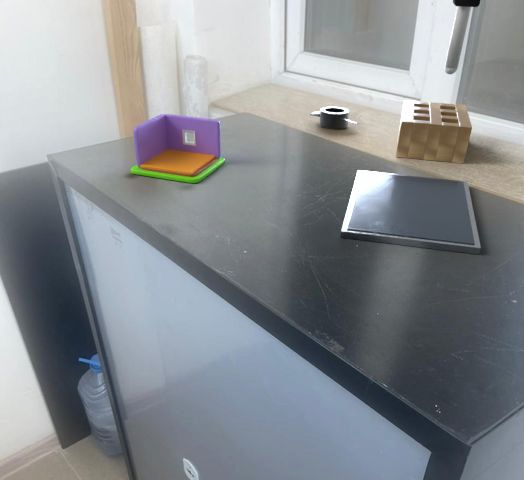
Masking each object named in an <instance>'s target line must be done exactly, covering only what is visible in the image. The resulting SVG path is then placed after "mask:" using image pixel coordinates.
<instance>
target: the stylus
mask: <svg viewBox="0 0 524 480" xmlns="http://www.w3.org/2000/svg"><path fill="white" fill-rule="evenodd" d="M471 10H472V7H462V6H456V10H455V15H454V20H453V24H452V29H451V35H450V39H449V43H448V47H447V48H448V49H447V53H446V58H445V63H444V69H443V70H444V72H445V73H446V74H448V75H453V74H455V73H456V72H457V71H458V68H459V64H460V59H461V55H462V50H463V47H464V42H465V38H466V37H465V36H466V31H467V27H468V24H469V19H470V13H471Z"/></svg>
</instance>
